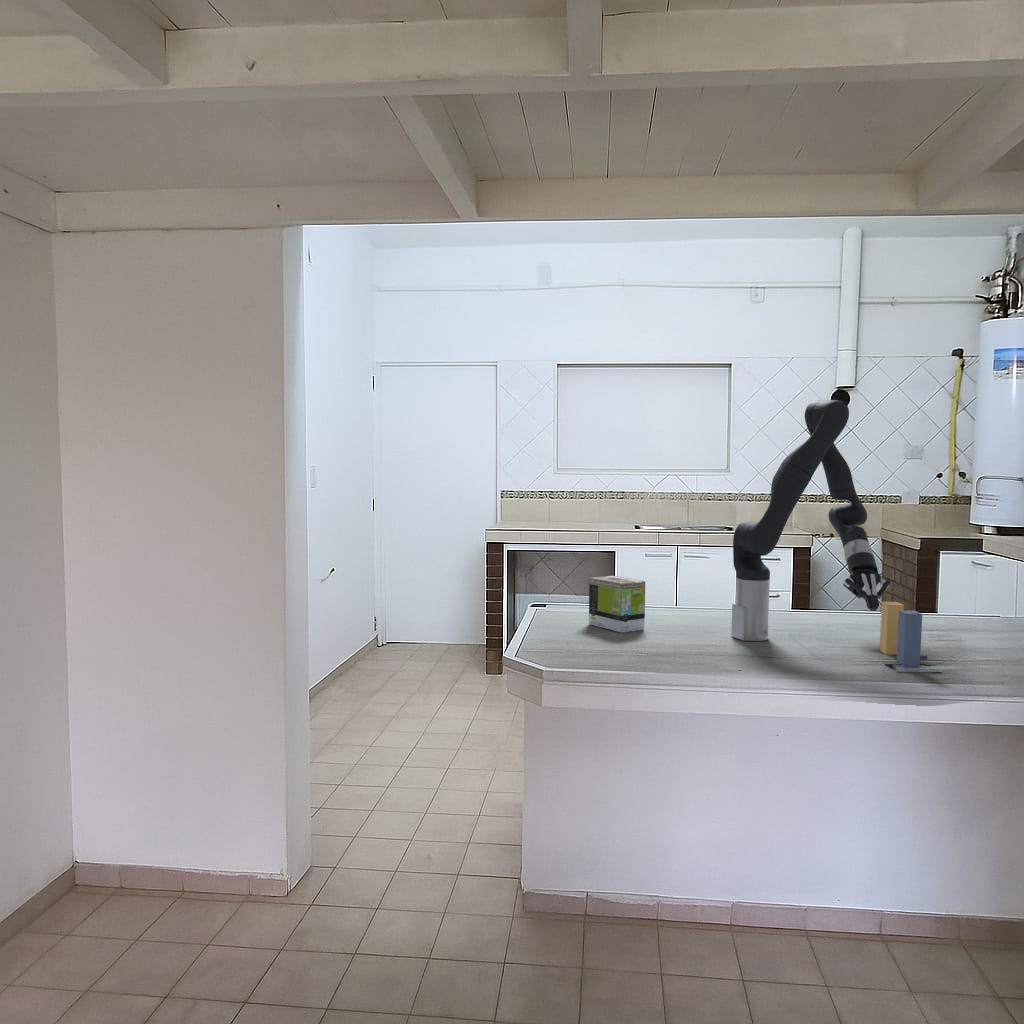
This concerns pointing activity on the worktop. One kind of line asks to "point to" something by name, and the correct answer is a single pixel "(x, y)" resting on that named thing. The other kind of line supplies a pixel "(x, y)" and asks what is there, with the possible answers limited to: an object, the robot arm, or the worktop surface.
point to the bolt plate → (914, 668)
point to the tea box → (617, 603)
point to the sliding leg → (889, 627)
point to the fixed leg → (909, 638)
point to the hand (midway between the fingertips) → (874, 609)
